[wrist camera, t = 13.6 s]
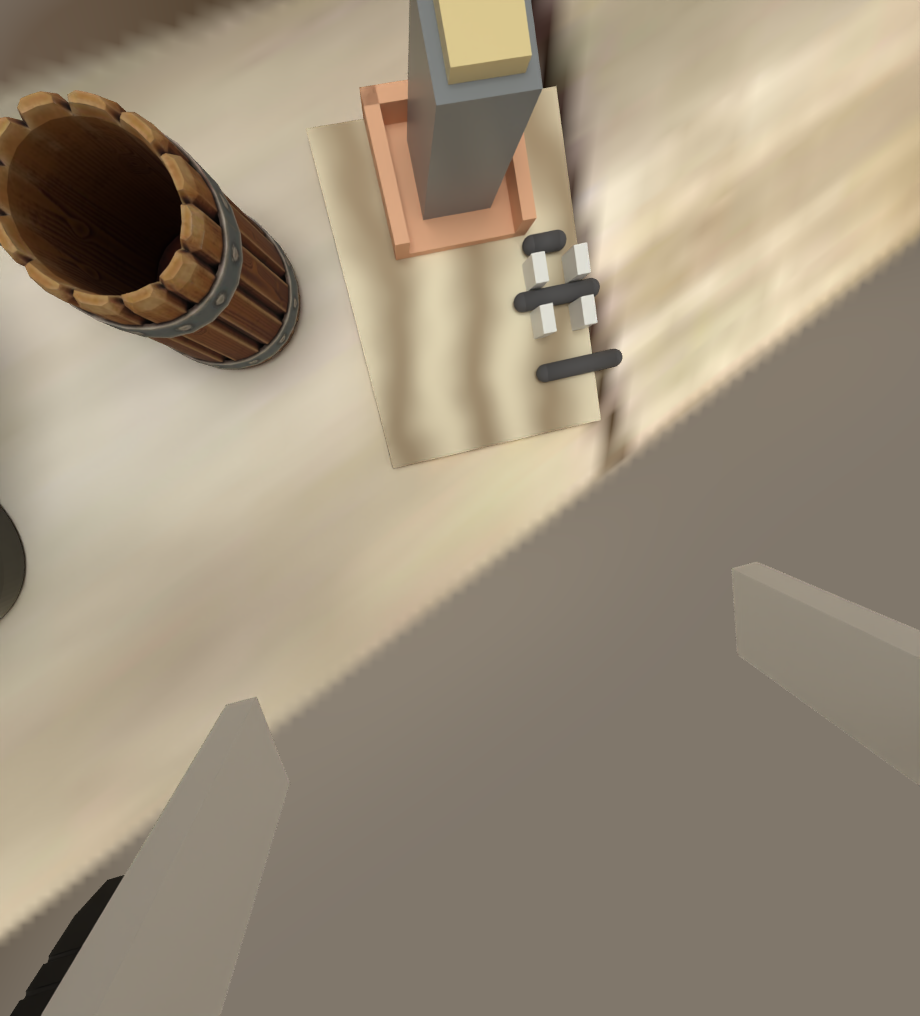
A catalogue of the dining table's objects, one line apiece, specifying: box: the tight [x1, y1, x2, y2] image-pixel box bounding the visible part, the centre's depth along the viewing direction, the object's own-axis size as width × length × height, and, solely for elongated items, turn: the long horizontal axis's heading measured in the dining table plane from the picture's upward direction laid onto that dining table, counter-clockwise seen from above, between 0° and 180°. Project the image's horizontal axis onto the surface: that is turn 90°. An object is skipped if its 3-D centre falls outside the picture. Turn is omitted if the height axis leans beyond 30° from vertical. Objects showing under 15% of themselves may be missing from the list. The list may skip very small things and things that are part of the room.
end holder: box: [359, 80, 537, 260], centre depth 30 cm, size 10×9×3 cm
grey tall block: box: [407, 0, 543, 220], centre depth 24 cm, size 5×5×13 cm
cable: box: [514, 230, 622, 382], centre depth 34 cm, size 8×11×1 cm
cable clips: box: [522, 243, 597, 339], centre depth 33 cm, size 4×6×2 cm
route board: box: [306, 87, 601, 469], centre depth 34 cm, size 18×24×1 cm
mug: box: [0, 90, 300, 369], centre depth 25 cm, size 16×11×15 cm
